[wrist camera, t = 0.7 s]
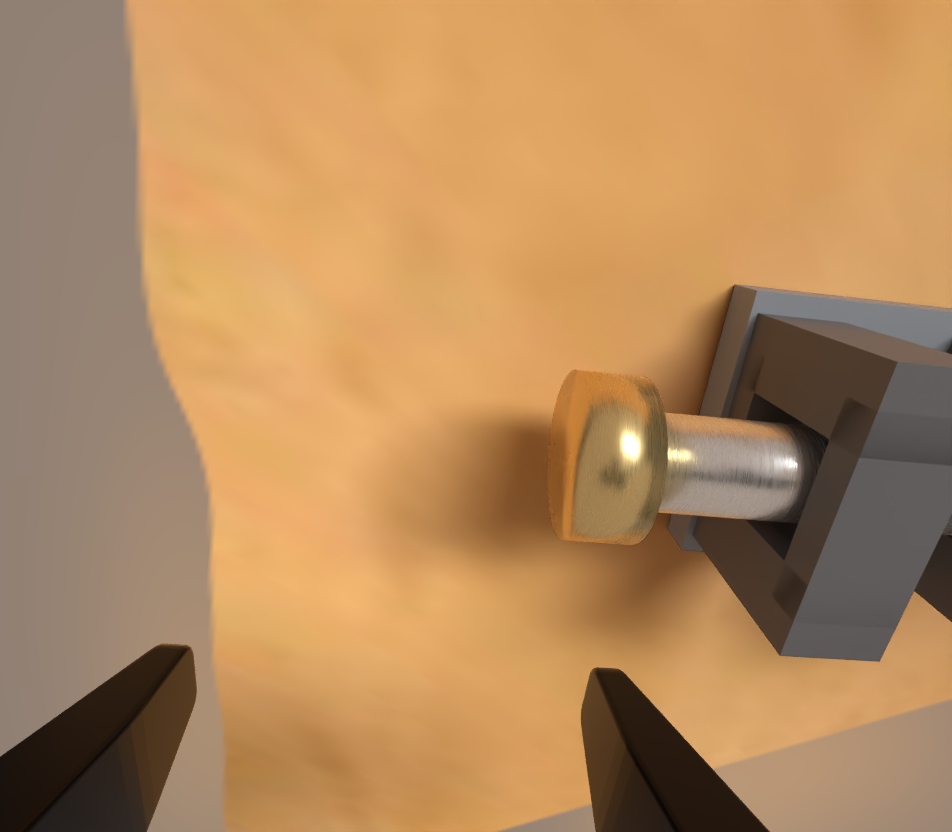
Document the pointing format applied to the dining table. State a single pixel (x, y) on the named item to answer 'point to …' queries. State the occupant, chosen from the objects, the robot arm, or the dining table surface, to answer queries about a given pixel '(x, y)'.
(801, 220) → the dining table surface
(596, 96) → the dining table surface
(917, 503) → the bearing bracket
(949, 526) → the shaft
